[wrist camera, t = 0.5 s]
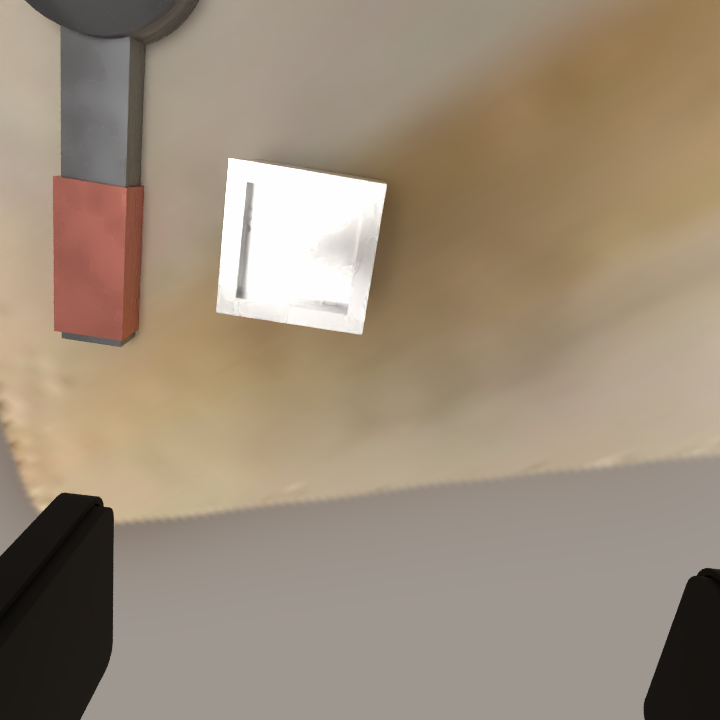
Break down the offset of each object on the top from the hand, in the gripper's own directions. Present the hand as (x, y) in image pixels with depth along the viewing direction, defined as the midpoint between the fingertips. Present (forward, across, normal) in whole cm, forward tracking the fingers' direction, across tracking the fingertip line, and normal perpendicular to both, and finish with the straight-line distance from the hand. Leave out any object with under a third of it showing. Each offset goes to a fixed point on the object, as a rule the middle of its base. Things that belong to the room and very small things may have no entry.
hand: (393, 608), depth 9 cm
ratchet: (+25, +15, -8) cm, 30 cm away
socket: (+25, +4, -3) cm, 25 cm away
